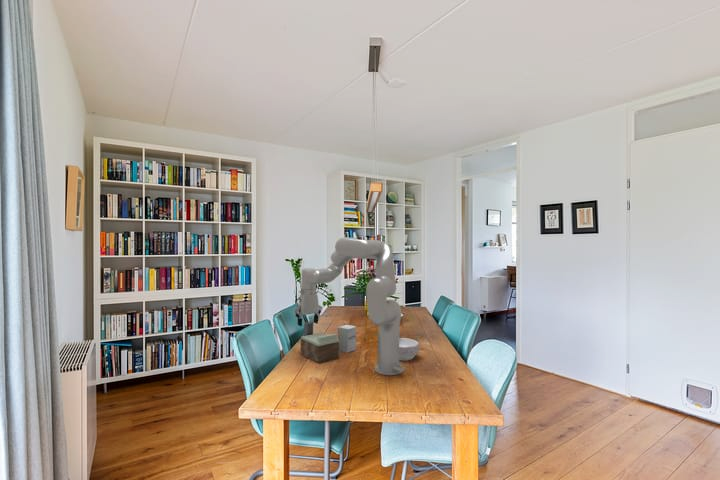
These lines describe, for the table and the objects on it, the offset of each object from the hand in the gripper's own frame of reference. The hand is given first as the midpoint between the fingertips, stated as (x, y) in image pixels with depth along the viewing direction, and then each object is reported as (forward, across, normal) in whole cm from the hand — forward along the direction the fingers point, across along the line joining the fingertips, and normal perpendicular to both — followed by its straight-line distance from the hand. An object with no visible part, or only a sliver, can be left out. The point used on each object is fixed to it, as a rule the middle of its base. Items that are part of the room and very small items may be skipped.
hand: (308, 324), depth 184 cm
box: (+14, 0, -9) cm, 17 cm away
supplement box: (+14, +17, -12) cm, 25 cm away
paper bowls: (+14, +32, -39) cm, 52 cm away
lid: (+6, 0, -12) cm, 13 cm away
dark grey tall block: (+9, 0, -1) cm, 9 cm away
